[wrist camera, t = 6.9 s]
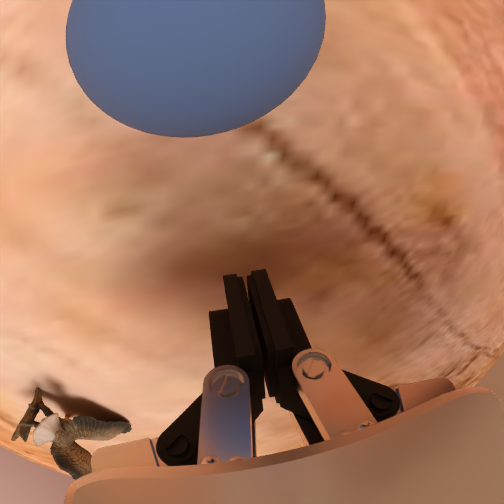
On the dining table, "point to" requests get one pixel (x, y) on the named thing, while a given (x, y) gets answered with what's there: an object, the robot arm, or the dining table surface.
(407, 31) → the dining table surface
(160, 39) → the ball
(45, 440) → the eagle figurine
